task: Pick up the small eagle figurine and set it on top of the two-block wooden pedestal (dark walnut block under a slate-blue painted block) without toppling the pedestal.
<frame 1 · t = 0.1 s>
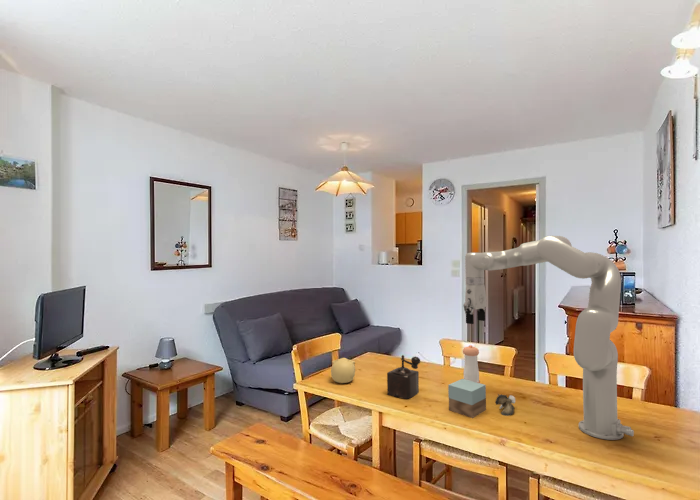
hand: (475, 322, 161), 31 cm above the table, fingers open, 9 cm apart
pepper shaker: (471, 388, 169), on the table
sculpture: (343, 381, 182), on the table
tower base: (467, 410, 146), on the table, touching tower top
manual coffee grinder: (407, 395, 162), on the table
tower top: (467, 397, 146), point 5 cm above the table, touching tower base
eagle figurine: (505, 411, 145), on the table
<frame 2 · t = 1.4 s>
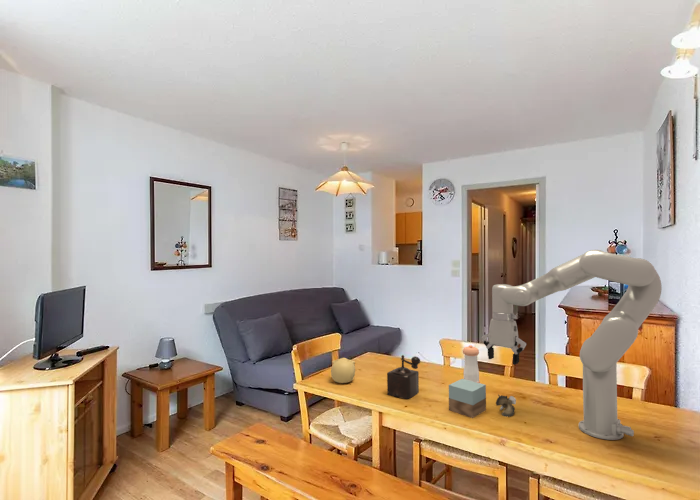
hand: (503, 361, 146), 19 cm above the table, fingers open, 9 cm apart
nothing on the table moved.
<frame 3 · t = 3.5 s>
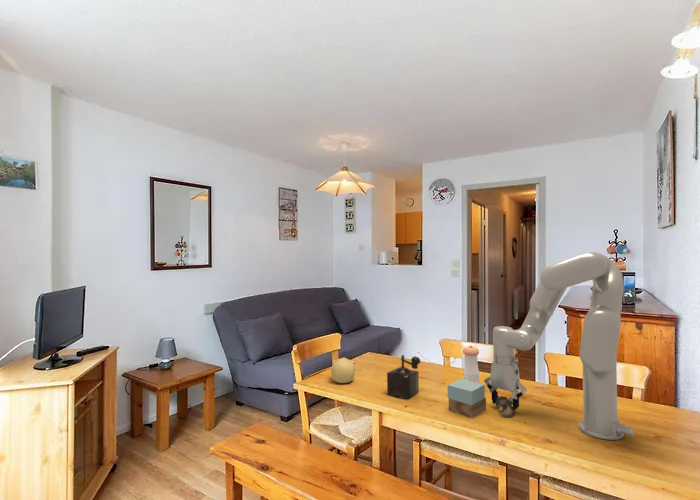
hand: (505, 405, 145), 2 cm above the table, fingers closed on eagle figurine, 7 cm apart
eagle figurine: (505, 413, 143), on the table, touching gripper
when the fingers open (13 cm above the table, at t = 9.1 s): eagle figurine drops 1 cm, resting on tower top.
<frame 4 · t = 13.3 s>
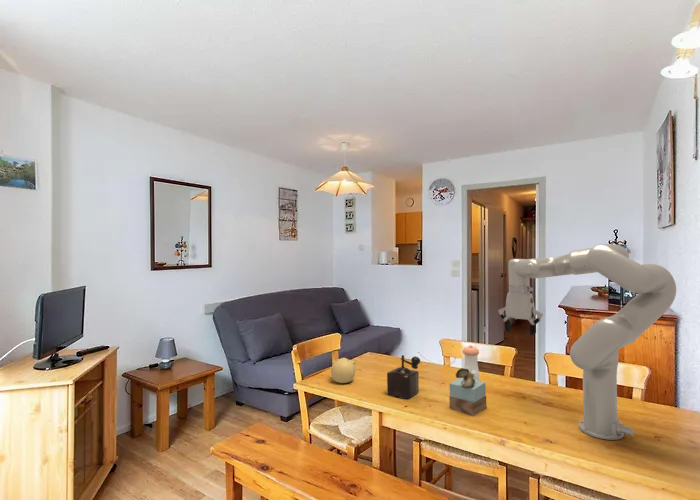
hand: (520, 332, 151), 28 cm above the table, fingers open, 9 cm apart
tower base: (468, 409, 148), on the table, touching tower top
tower top: (467, 395, 148), point 5 cm above the table, touching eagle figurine, tower base
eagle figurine: (466, 385, 146), point 9 cm above the table, touching tower top
everything else where it was.
at the end: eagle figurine 2.0 cm from the tower top (horizontally); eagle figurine point 9.5 cm above the table; tower top tilted 0° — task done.
